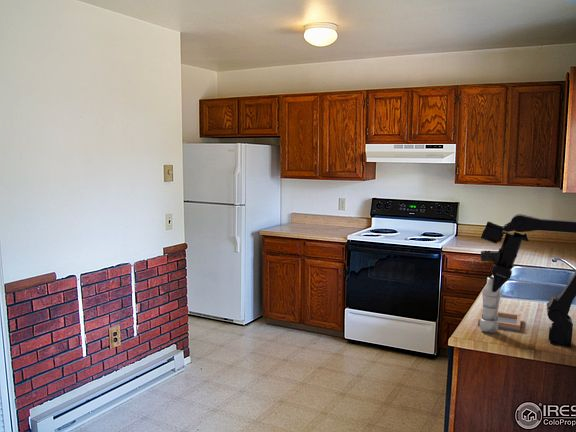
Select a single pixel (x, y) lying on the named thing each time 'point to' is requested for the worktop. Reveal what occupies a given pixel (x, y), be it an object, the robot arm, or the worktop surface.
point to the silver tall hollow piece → (490, 307)
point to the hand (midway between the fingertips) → (494, 288)
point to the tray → (506, 321)
